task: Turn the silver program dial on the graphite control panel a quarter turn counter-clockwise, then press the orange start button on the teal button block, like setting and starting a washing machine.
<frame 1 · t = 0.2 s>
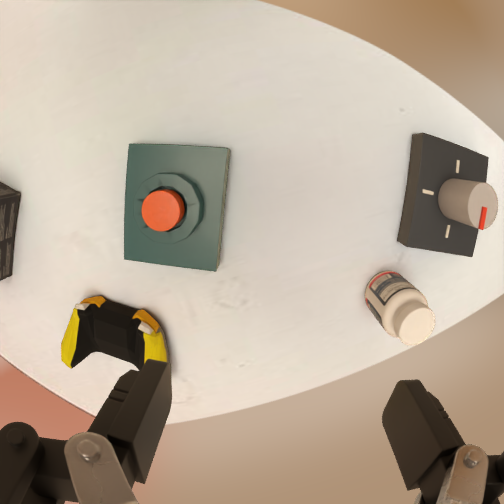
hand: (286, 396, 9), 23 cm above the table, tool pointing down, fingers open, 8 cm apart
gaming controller: (122, 333, 35), on the table
small box: (2, 227, 32), on the table
button block: (176, 203, 30), on the table
pill bottle: (384, 290, 32), on the table
start button: (163, 209, 26), point 4 cm above the table, slide at 0.1 cm
dial panel: (441, 196, 29), on the table
program dial: (468, 202, 24), point 5 cm above the table, hinge at 0.0°
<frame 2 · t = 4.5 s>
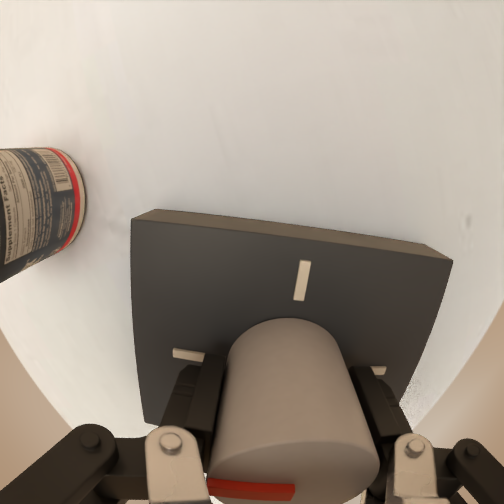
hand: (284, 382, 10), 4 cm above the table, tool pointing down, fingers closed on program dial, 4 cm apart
pill bottle: (49, 199, 12), on the table
dial panel: (281, 333, 13), on the table
program dial: (289, 420, 8), point 5 cm above the table, hinge at 0.2°, touching gripper
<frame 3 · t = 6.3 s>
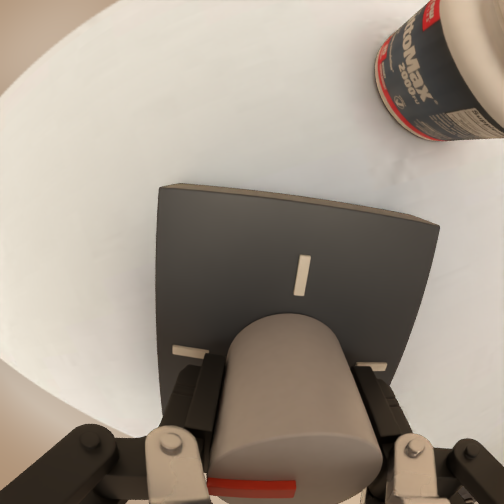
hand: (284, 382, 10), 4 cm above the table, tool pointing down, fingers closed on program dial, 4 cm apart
pill bottle: (421, 87, 10), on the table
dial panel: (281, 330, 13), on the table
program dial: (290, 416, 8), point 5 cm above the table, hinge at 94.9°, touching gripper
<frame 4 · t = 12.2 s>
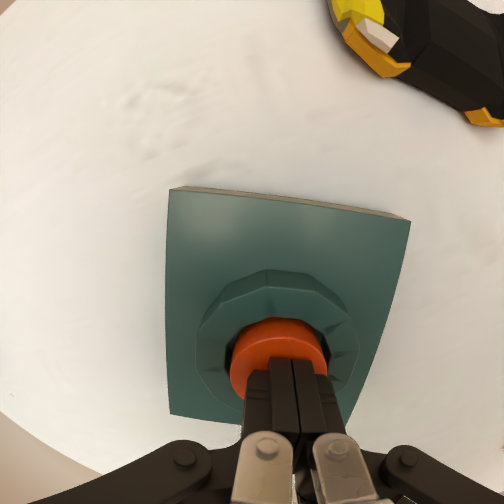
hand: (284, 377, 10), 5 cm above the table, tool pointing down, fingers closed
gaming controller: (432, 31, 11), on the table
button block: (274, 317, 15), on the table
start button: (277, 364, 11), point 4 cm above the table, slide at -0.4 cm, touching gripper
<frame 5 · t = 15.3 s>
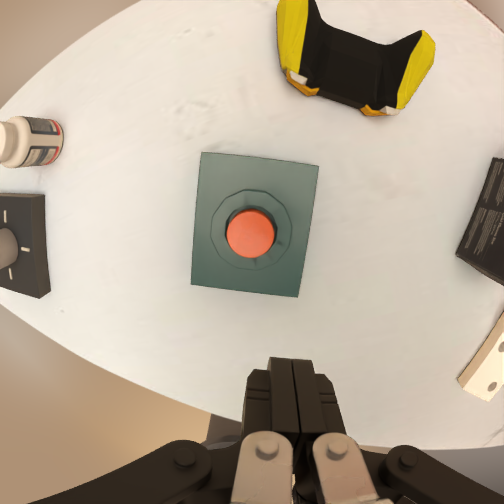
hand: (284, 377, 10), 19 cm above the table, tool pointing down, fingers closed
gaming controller: (345, 63, 24), on the table
small box: (491, 217, 27), on the table
button block: (252, 222, 28), on the table
pill bottle: (48, 142, 26), on the table
start button: (250, 232, 24), point 4 cm above the table, slide at 0.1 cm
dial panel: (20, 240, 29), on the table
bracket: (490, 347, 32), on the table
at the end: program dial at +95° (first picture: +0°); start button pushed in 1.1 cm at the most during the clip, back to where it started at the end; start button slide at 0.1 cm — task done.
